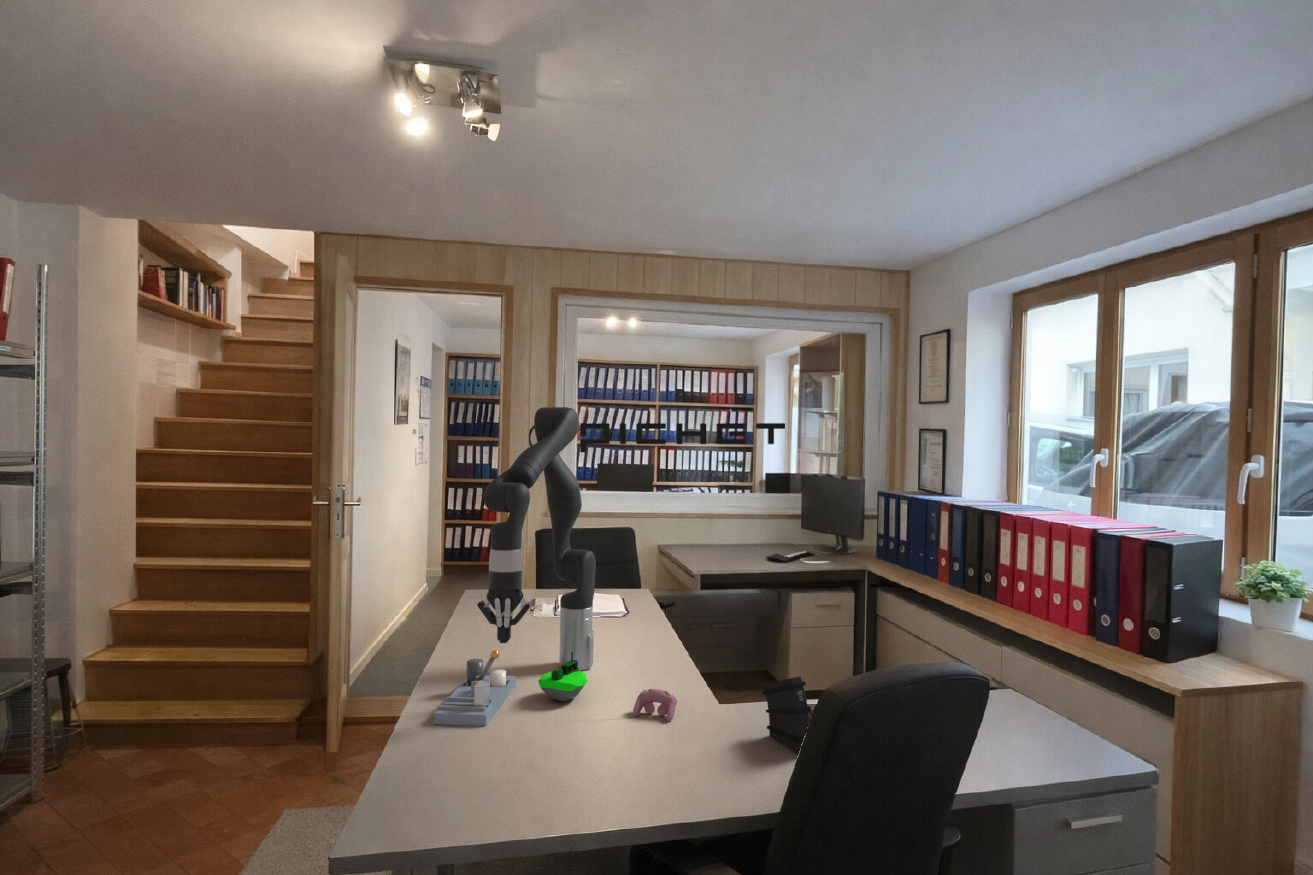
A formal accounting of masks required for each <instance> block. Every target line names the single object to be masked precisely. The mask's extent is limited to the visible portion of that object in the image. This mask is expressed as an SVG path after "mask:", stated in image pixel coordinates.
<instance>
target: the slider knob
mask: <svg viewBox="0 0 1313 875" xmlns="http://www.w3.org/2000/svg"><path fill="white" fill-rule="evenodd" d="M489 702H490V681H482V680H480V681H479V682H478V683H477V684H476V685H475V686H474V706H476V707H486V706H487V705H488V703H489Z"/></svg>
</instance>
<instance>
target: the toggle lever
mask: <svg viewBox="0 0 1313 875" xmlns="http://www.w3.org/2000/svg"><path fill="white" fill-rule="evenodd" d="M499 657H500V651H499V650H497V649H493V650H492V651H491V652H490V657H489V659H488V660H487V663H486V664H485V666H483V671H482V672H481V674H480V676H479V677H478V679H477V680H476V681H480V680H482V681H483V678H484V677H485V675H487V673H488V672H489V670H490V669H491V666H492V665H493V663H494V662H495V660H497V659H498V658H499Z"/></svg>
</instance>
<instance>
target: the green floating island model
mask: <svg viewBox="0 0 1313 875" xmlns="http://www.w3.org/2000/svg"><path fill="white" fill-rule="evenodd" d="M579 669H580V668H579V667H578V661H577V660H573V652H571V660H570V661H568V662H566V663H564V664H562V665H561V668H553V669H552V671H549V672H546V673H544V674H542V675H541V676H540V677H539V679H538V681H537V682H538V684H539V687H540V689H541V690H542V691H543V693H544V694H546V696H547V698H549V699H550V700H551V699H552V700H555V701H559V702H562V703H565V702H567V701H570V700H573V699H574V698H576V697H577V696H578V695H579V694H580V693H581V691H582V689H583V688H584V687H585V686H586V684H587V683H588V676H587V674H586V673H585V672H583V670H579Z"/></svg>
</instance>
